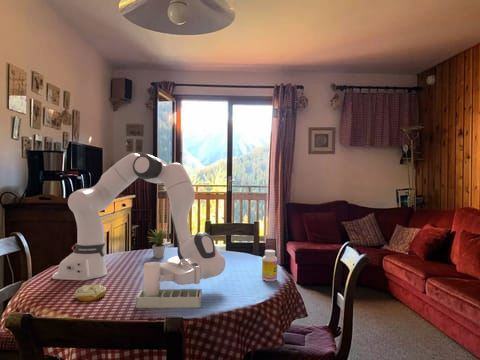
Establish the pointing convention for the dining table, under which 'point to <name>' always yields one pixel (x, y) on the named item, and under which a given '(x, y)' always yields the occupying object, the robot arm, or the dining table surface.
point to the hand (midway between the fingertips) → (153, 275)
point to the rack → (171, 299)
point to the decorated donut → (90, 292)
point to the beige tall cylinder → (151, 279)
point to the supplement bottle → (269, 266)
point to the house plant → (158, 244)
